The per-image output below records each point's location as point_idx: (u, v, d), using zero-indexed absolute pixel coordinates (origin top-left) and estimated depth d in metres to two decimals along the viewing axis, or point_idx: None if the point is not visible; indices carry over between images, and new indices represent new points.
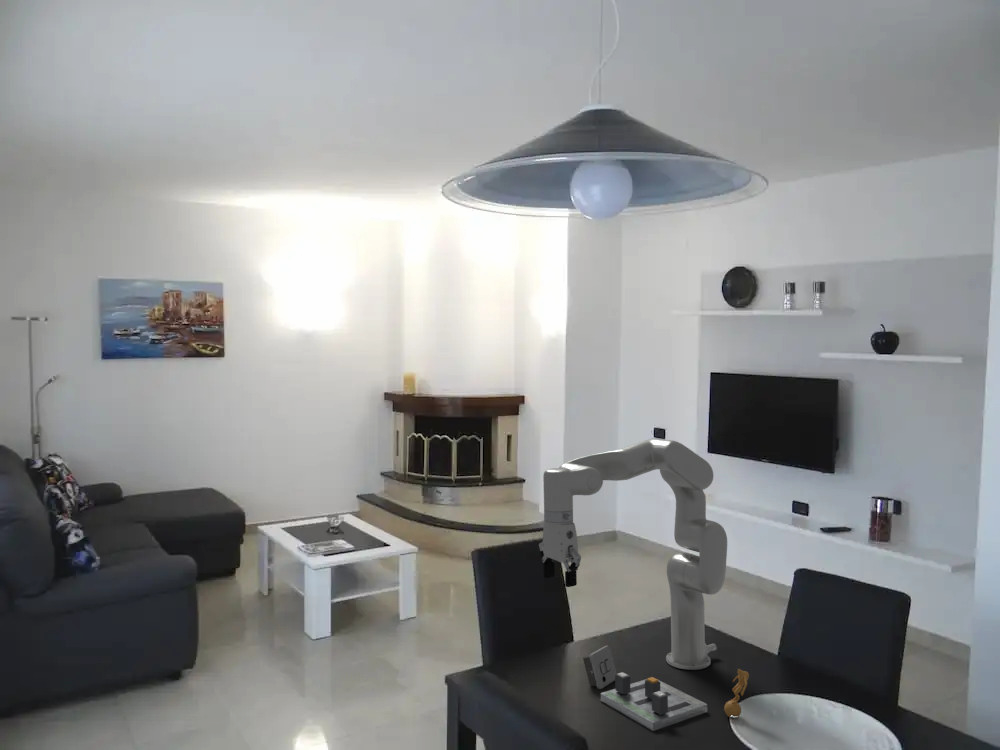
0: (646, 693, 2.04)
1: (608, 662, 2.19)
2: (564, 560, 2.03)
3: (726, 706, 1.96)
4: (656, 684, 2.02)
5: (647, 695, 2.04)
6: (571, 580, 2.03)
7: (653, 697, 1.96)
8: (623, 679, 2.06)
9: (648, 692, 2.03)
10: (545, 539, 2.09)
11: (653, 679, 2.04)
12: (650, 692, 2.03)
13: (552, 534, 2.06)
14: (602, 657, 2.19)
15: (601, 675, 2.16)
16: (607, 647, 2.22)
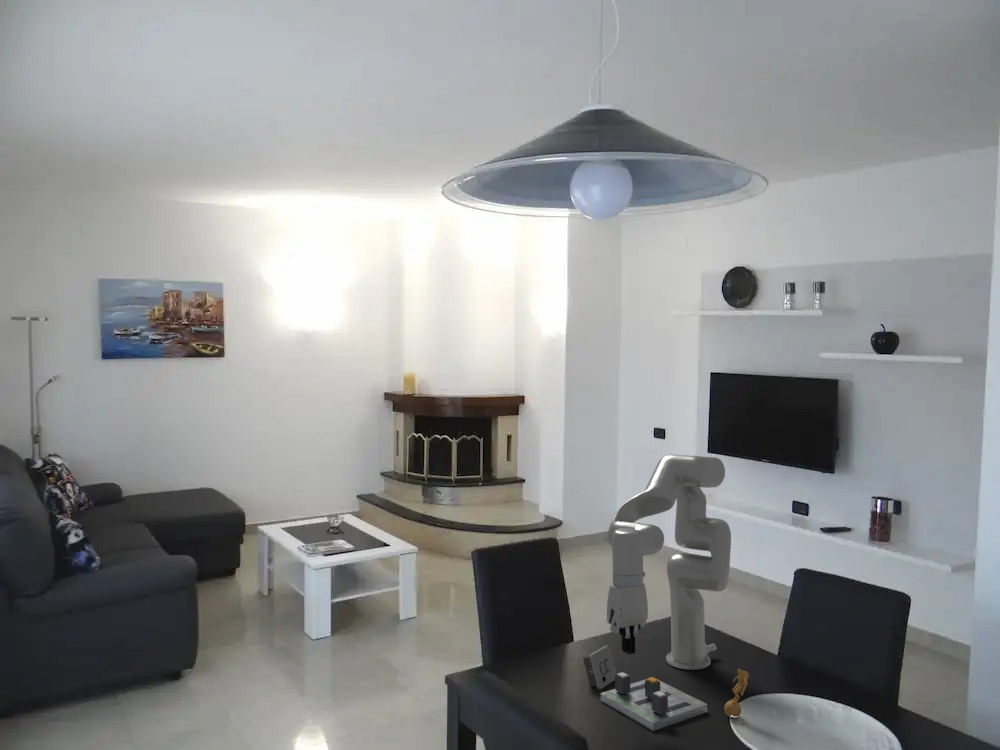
0: (646, 693, 2.04)
1: (608, 662, 2.19)
2: None
3: (726, 706, 1.96)
4: (656, 684, 2.02)
5: (647, 695, 2.04)
6: None
7: (653, 697, 1.96)
8: (623, 679, 2.06)
9: (648, 692, 2.03)
10: (625, 608, 1.96)
11: (653, 679, 2.04)
12: (650, 692, 2.03)
13: (636, 598, 1.97)
14: (602, 657, 2.19)
15: (601, 675, 2.16)
16: (607, 647, 2.22)
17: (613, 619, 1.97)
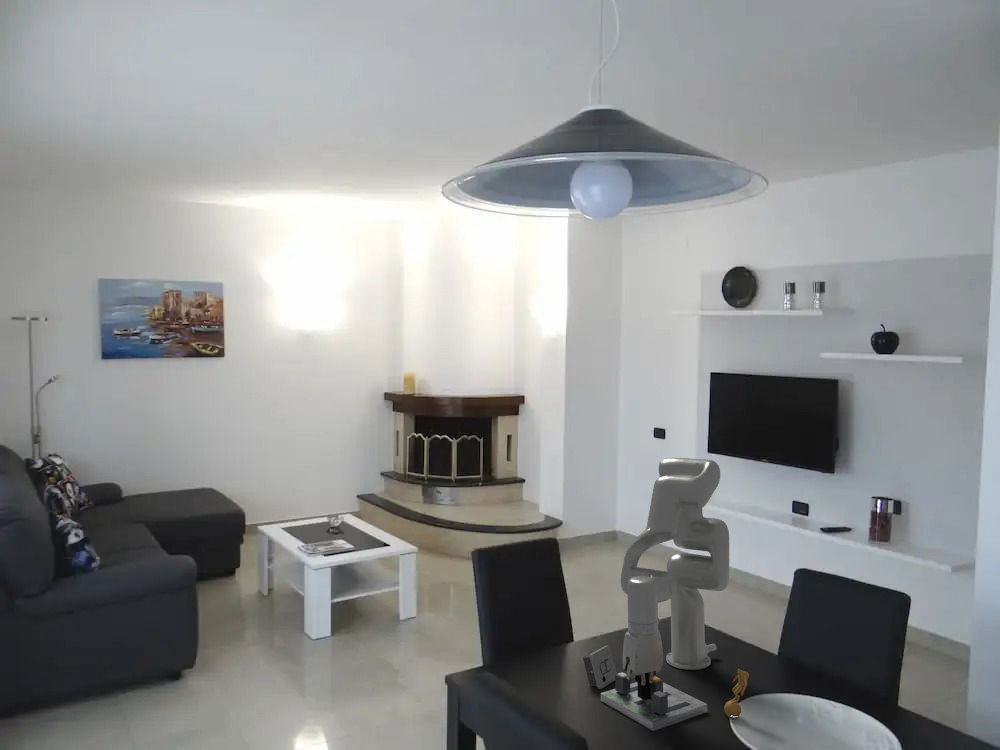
0: None
1: (608, 662, 2.19)
2: None
3: (726, 706, 1.96)
4: (659, 683, 2.03)
5: None
6: None
7: (653, 697, 1.96)
8: (623, 679, 2.06)
9: (651, 691, 2.04)
10: (640, 656, 1.99)
11: (656, 678, 2.04)
12: (653, 691, 2.03)
13: (652, 645, 2.00)
14: (602, 657, 2.18)
15: (601, 675, 2.16)
16: (607, 647, 2.22)
17: (629, 666, 2.00)
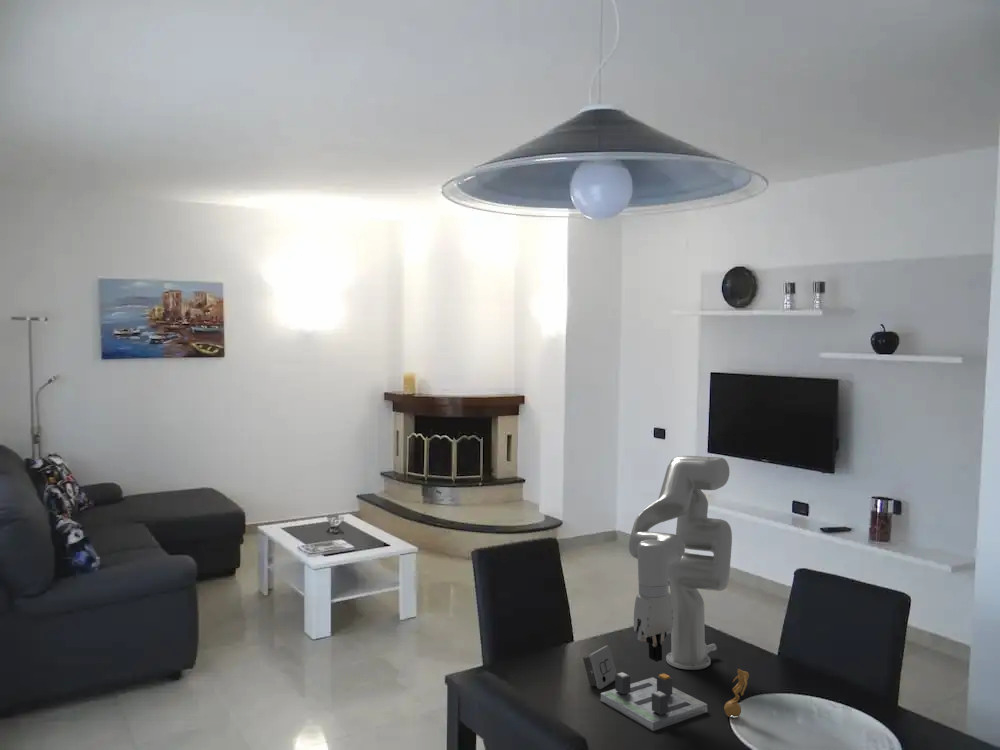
0: (658, 689, 2.06)
1: (608, 662, 2.19)
2: (673, 626, 2.05)
3: (726, 706, 1.96)
4: (668, 680, 2.05)
5: None
6: None
7: (653, 697, 1.96)
8: (623, 679, 2.06)
9: (660, 688, 2.05)
10: (651, 618, 2.01)
11: (665, 675, 2.06)
12: (662, 688, 2.05)
13: (662, 607, 2.02)
14: (602, 657, 2.19)
15: (601, 675, 2.16)
16: (607, 647, 2.22)
17: (640, 628, 2.02)
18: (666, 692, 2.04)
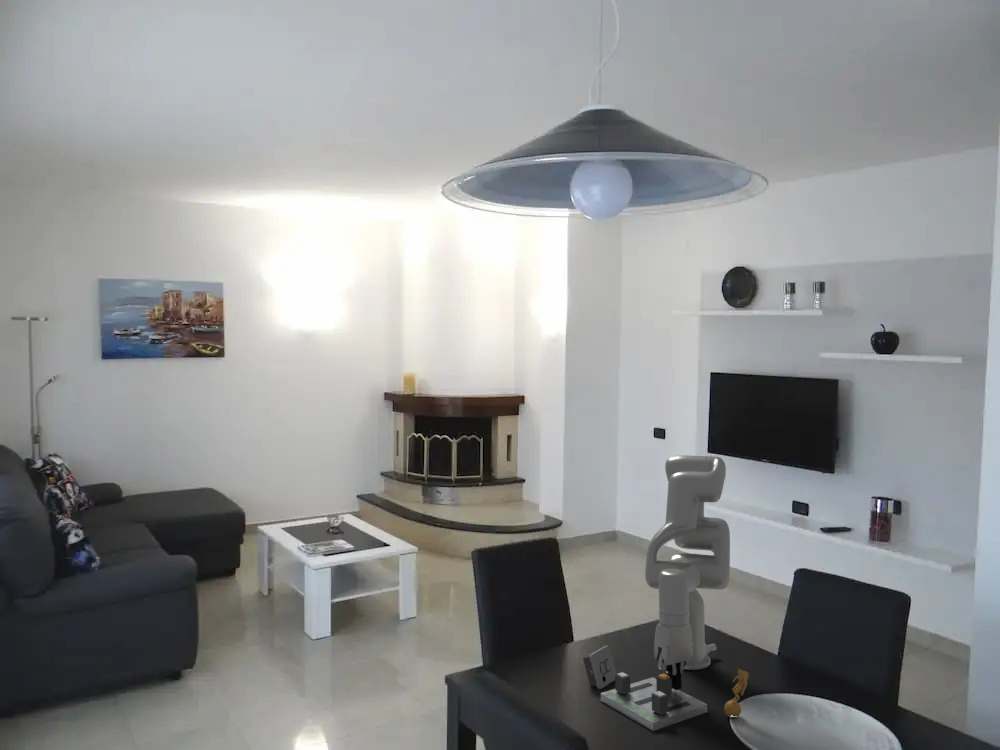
0: (658, 689, 2.06)
1: (608, 662, 2.19)
2: (692, 655, 2.08)
3: (726, 706, 1.96)
4: (667, 680, 2.04)
5: None
6: None
7: (653, 697, 1.96)
8: (623, 679, 2.06)
9: (660, 688, 2.05)
10: (672, 646, 2.04)
11: (664, 675, 2.06)
12: (662, 688, 2.05)
13: (683, 636, 2.06)
14: (602, 657, 2.19)
15: (601, 675, 2.16)
16: (607, 647, 2.22)
17: (660, 656, 2.05)
18: (666, 692, 2.04)
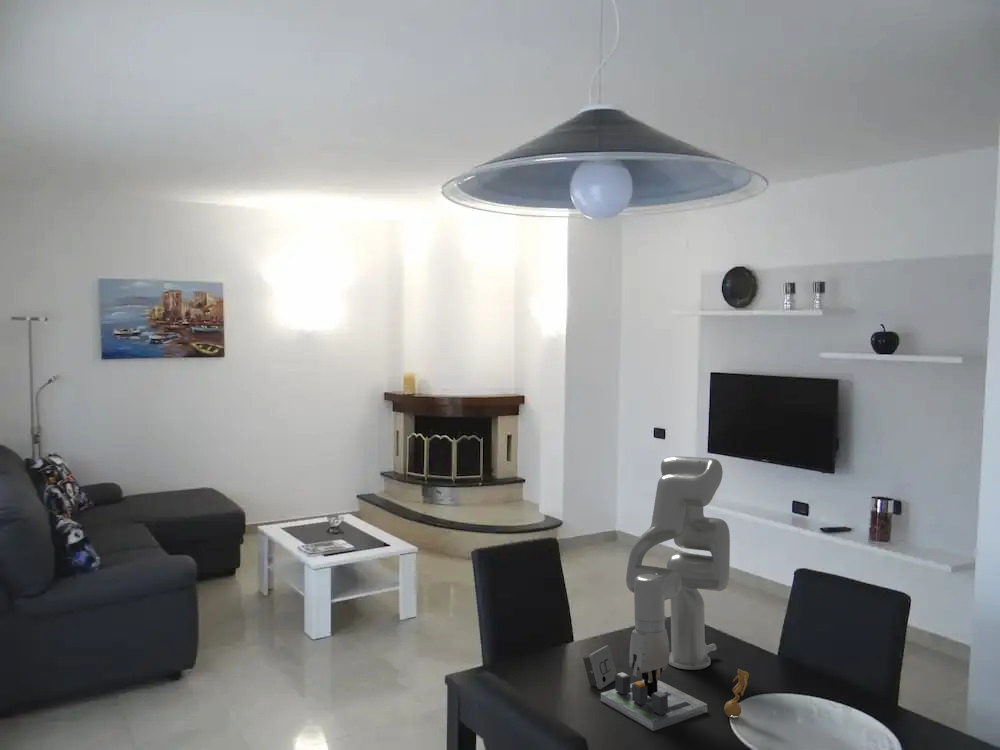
0: (633, 697, 2.02)
1: (608, 662, 2.19)
2: (668, 662, 2.04)
3: (726, 706, 1.96)
4: (643, 688, 2.00)
5: (634, 699, 2.02)
6: None
7: (653, 697, 1.96)
8: (623, 679, 2.06)
9: (635, 696, 2.01)
10: (647, 654, 2.00)
11: (640, 683, 2.01)
12: (637, 696, 2.00)
13: (658, 643, 2.01)
14: (602, 657, 2.19)
15: (601, 675, 2.16)
16: (607, 647, 2.22)
17: (636, 664, 2.01)
18: (641, 700, 2.00)
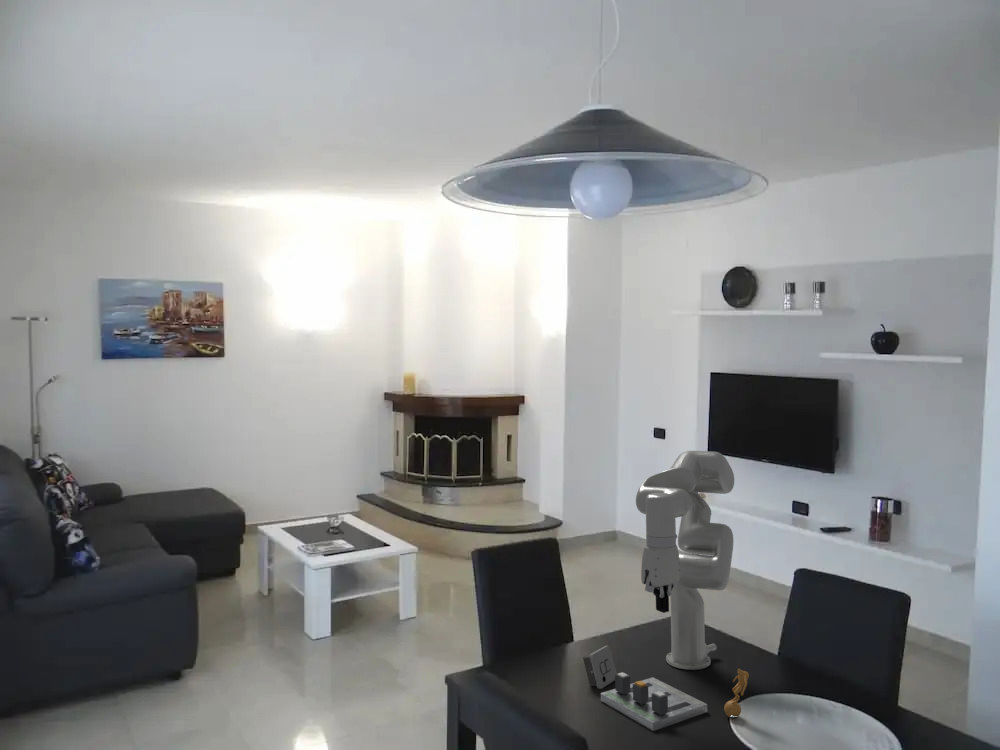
0: (634, 697, 2.02)
1: (608, 662, 2.19)
2: (679, 578, 2.08)
3: (726, 706, 1.96)
4: (644, 688, 2.00)
5: (635, 699, 2.02)
6: None
7: (653, 697, 1.96)
8: (623, 679, 2.06)
9: (636, 696, 2.01)
10: (659, 569, 2.04)
11: (641, 683, 2.01)
12: (638, 696, 2.01)
13: (670, 559, 2.05)
14: (602, 657, 2.19)
15: (601, 675, 2.16)
16: (607, 647, 2.22)
17: (648, 579, 2.05)
18: (642, 700, 2.00)
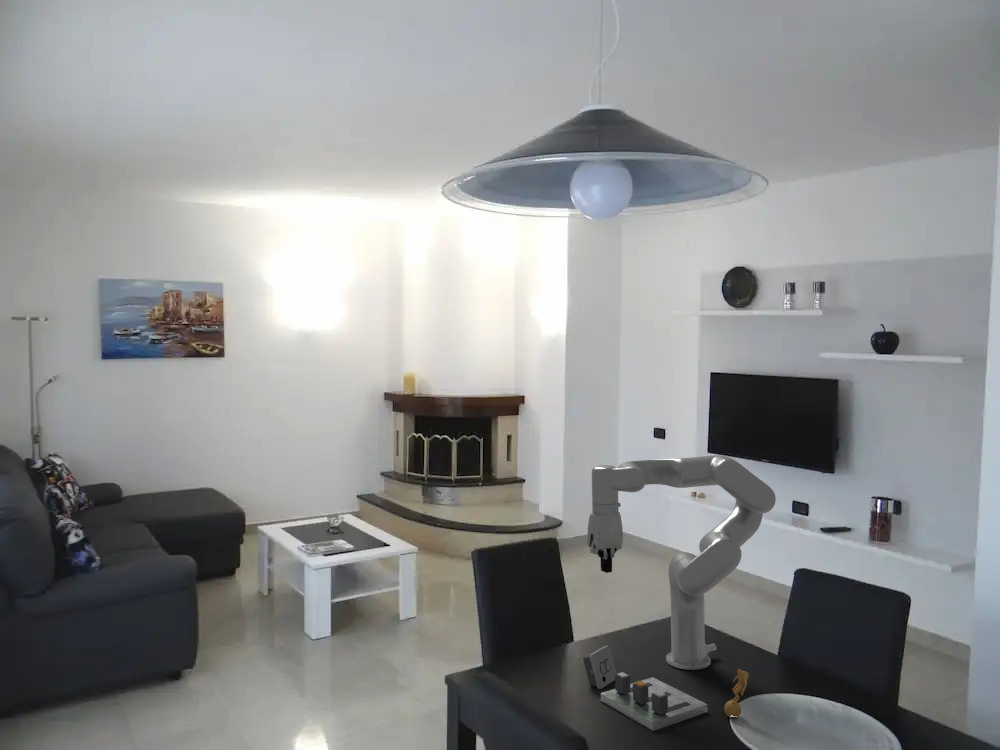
0: (634, 697, 2.02)
1: (608, 662, 2.19)
2: (622, 542, 2.32)
3: (726, 706, 1.96)
4: (644, 688, 2.00)
5: (635, 699, 2.02)
6: None
7: (653, 697, 1.96)
8: (623, 679, 2.06)
9: (636, 696, 2.01)
10: (602, 533, 2.27)
11: (641, 683, 2.01)
12: (638, 696, 2.01)
13: (612, 524, 2.29)
14: (602, 657, 2.19)
15: (601, 675, 2.16)
16: (607, 647, 2.22)
17: (593, 542, 2.29)
18: (642, 700, 2.00)
